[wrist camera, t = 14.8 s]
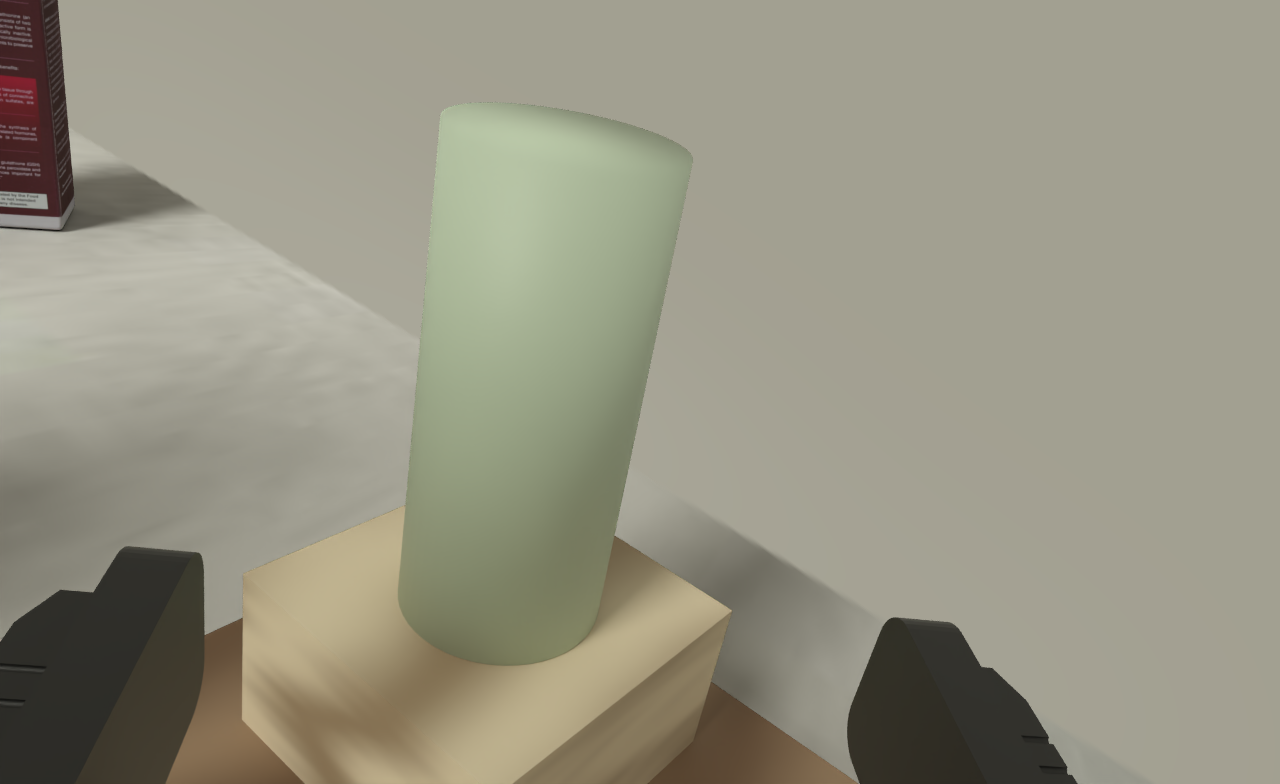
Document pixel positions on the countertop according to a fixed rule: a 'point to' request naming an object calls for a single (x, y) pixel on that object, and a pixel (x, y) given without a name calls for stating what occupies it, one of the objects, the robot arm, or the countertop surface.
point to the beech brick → (467, 676)
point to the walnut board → (695, 780)
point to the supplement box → (33, 118)
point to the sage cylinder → (531, 371)
